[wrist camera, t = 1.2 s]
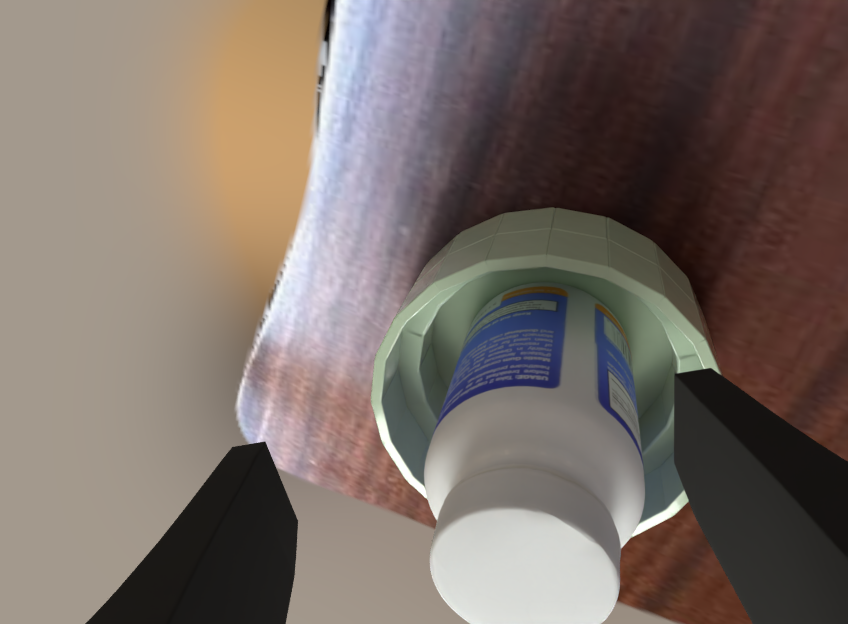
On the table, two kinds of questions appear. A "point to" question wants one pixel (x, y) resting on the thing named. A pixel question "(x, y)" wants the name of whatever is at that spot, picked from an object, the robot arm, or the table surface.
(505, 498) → the pill bottle
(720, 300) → the table surface
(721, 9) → the table surface
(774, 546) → the robot arm
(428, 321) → the bowl
